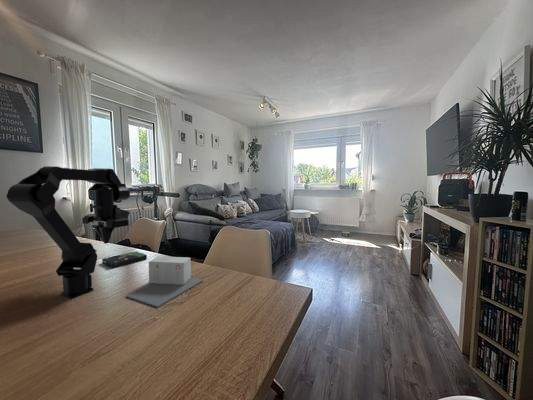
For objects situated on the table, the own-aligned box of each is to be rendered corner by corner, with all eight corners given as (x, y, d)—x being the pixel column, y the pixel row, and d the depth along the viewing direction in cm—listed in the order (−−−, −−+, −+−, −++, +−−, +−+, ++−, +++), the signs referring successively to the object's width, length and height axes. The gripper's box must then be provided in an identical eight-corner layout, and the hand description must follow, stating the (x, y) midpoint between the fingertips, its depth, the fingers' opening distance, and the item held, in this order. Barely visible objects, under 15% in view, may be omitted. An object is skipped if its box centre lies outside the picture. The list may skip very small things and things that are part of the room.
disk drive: (111, 270, 96) (147, 260, 108) (111, 263, 96) (147, 254, 108) (101, 264, 102) (136, 255, 115) (101, 258, 102) (136, 250, 114)
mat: (157, 307, 68) (157, 306, 68) (126, 297, 74) (126, 295, 74) (202, 281, 86) (202, 280, 86) (174, 274, 92) (174, 273, 92)
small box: (158, 276, 89) (191, 278, 88) (148, 283, 83) (183, 285, 82) (157, 255, 88) (191, 257, 87) (148, 261, 82) (183, 263, 81)
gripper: (141, 202, 90) (142, 241, 91) (110, 199, 98) (112, 235, 99) (112, 204, 80) (113, 248, 81) (80, 201, 87) (82, 242, 89)
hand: (106, 243), depth 88 cm, fingers closed
